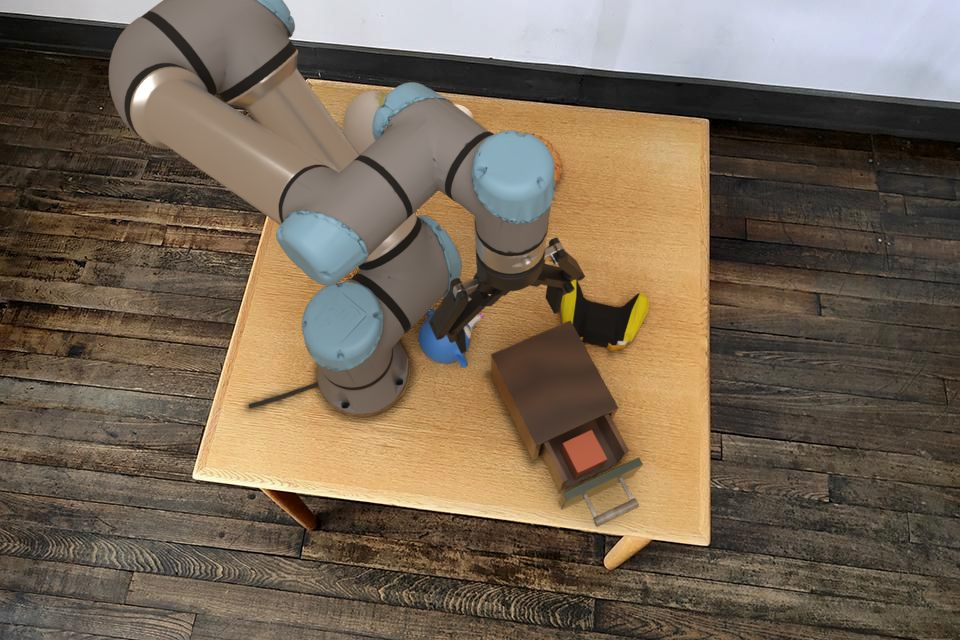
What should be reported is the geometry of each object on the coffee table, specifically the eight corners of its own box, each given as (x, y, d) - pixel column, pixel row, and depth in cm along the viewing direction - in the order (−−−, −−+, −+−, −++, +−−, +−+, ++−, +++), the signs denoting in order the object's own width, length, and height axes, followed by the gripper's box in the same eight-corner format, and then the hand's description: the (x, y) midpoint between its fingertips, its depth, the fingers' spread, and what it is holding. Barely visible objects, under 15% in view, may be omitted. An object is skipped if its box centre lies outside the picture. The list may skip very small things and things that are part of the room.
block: (574, 480, 116) (577, 473, 112) (559, 451, 118) (562, 443, 113) (603, 466, 117) (607, 459, 112) (587, 438, 119) (591, 429, 114)
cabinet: (609, 425, 122) (618, 407, 113) (532, 460, 120) (536, 445, 111) (564, 343, 128) (570, 320, 119) (491, 375, 125) (491, 354, 116)
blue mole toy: (503, 351, 127) (503, 332, 119) (443, 388, 125) (440, 370, 117) (465, 297, 131) (463, 275, 124) (406, 332, 129) (401, 311, 121)
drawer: (649, 504, 116) (660, 495, 108) (576, 539, 114) (582, 532, 106) (590, 394, 123) (596, 378, 116) (520, 425, 121) (522, 411, 114)
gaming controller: (561, 287, 132) (550, 338, 128) (564, 272, 127) (552, 325, 123) (647, 305, 130) (637, 358, 126) (653, 292, 125) (643, 346, 121)
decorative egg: (413, 176, 142) (404, 125, 128) (348, 179, 142) (332, 128, 128) (413, 124, 147) (404, 69, 133) (350, 126, 146) (335, 72, 133)
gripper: (416, 319, 77) (431, 385, 97) (629, 231, 81) (602, 311, 101) (389, 260, 80) (409, 336, 99) (597, 178, 84) (577, 266, 103)
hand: (506, 324), depth 100 cm, fingers open, 13 cm apart
